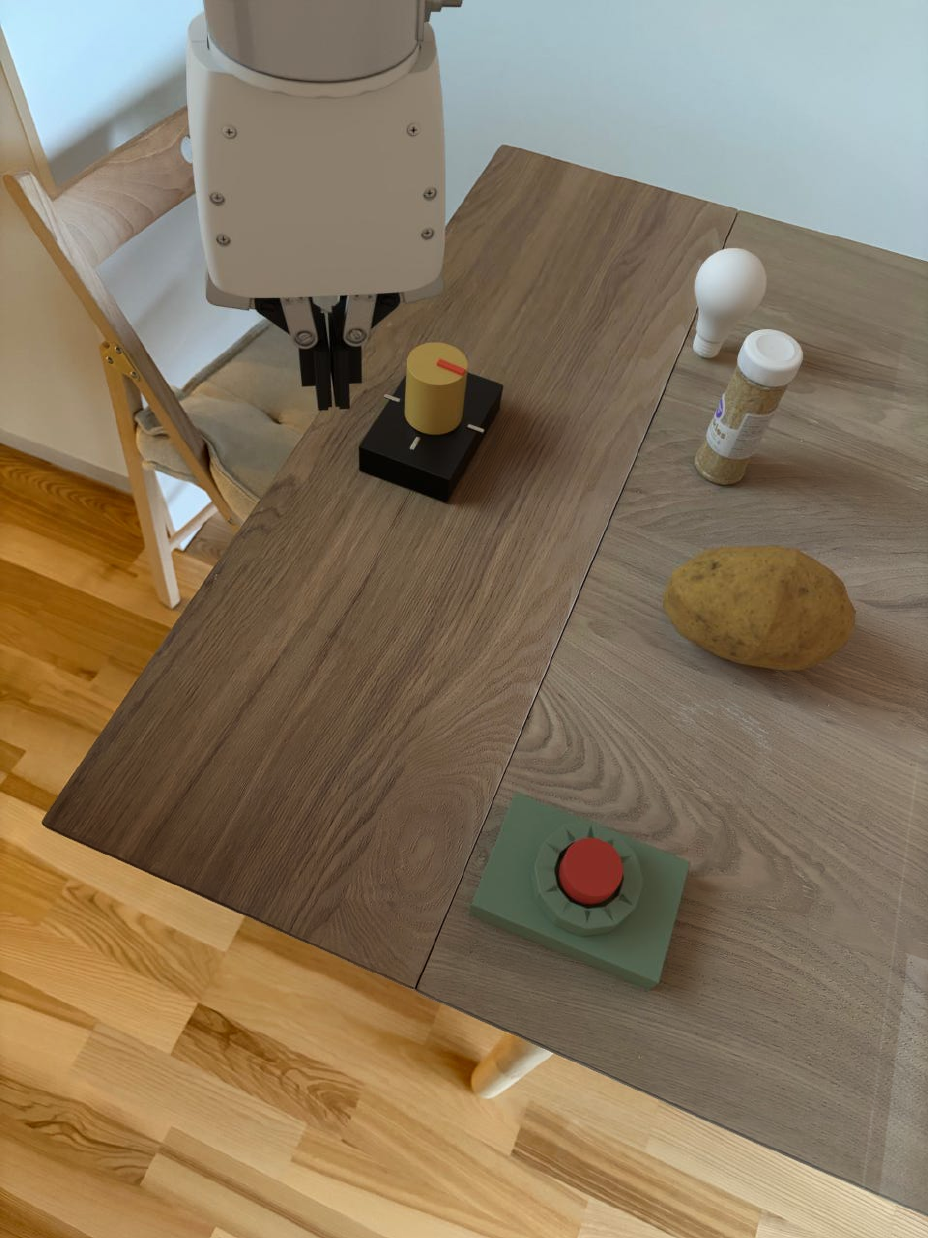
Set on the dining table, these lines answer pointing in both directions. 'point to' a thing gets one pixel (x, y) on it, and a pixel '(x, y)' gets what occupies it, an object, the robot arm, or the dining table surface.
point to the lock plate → (429, 442)
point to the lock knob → (435, 388)
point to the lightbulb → (725, 296)
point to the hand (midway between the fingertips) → (331, 389)
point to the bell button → (590, 871)
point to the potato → (760, 606)
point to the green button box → (544, 913)
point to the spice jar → (748, 404)
